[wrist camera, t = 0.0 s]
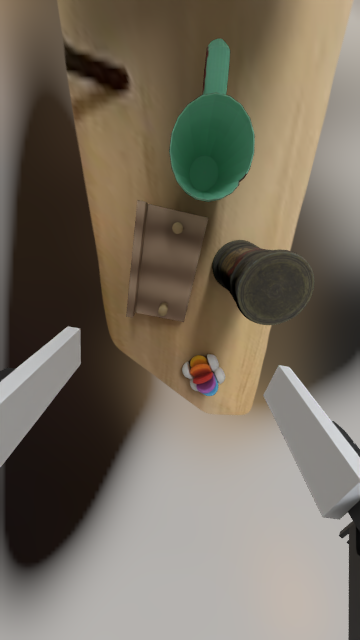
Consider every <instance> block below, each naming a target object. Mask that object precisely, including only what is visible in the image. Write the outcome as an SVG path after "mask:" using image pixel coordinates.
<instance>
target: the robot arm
mask: <svg viewBox="0 0 360 640" xmlns="http://www.w3.org/2000/svg"><path fill="white" fill-rule="evenodd" d="M80 350H81V346H80V329H79V328H73V327H67V328H65V329H64V330H63V331H62V332H60V333H59V334H58V335H57V336H56V337H54V338H53V339H52V340H51V341H50V342H49V343H47V344H46V345H45V346H44V347H42V348H41V349H40V350H39V351H37V352H36V353H35V354H34V355H33V356H31V357H30V358H29V359H28V360H26V361H25V362H24V363H23V364H21V365H20V366H19V367H18V368H17V369H12V368H6V369H4V370H2V371H0V467H1V466H2V464H3V463H4V462H5V461H6V459H7V458H8V457H9V455H10V454H11V453H12V451H13V450H14V449H15V448H16V446H17V445H18V444H19V443H20V441H21V440H22V439H23V437H24V436H25V435H26V434H27V432H28V431H29V430H30V428H31V427H32V426H33V425H34V423H35V422H36V421H37V419H38V418H39V417H40V416H41V414H42V413H43V411H44V410H45V409H46V408H47V406H48V405H49V404H50V403H51V401H52V400H53V399H54V398H55V396H56V395H57V393H58V392H59V391H60V390H61V389H62V387H63V386H64V385H65V383H66V382H67V381H68V380H69V378H70V377H71V376H72V374H73V373H74V372H75V371H76V369H77V368H78V367H79V365H80V364H81V353H80V352H81V351H80ZM264 398H265V400H266V402H267V404H268V406H269V408H270V410H271V412H272V414H273V416H274V418H275V420H276V422H277V424H278V426H279V428H280V430H281V433H282V435H283V436H284V439H285V441H286V443H287V445H288V447H289V449H290V451H291V453H292V455H293V457H294V459H295V461H296V463H297V466H298V467H299V470H300V472H301V474H302V476H303V478H304V480H305V482H306V484H307V486H308V488H309V490H310V492H311V494H312V496H313V498H314V501H315V503H316V505H317V507H318V509H319V511H320V513H321V515H322V517H326V518H333V519H340V518H342V517H343V516H344V515H345V514H346V513H347V512H348V513H349V515H350V516H351V518H352V520H353V522H351V523H350V524H349V525H348V526H347V527H345V528H344V529H343V530H342V531H341V532H340V535H339V536H340V537H341V538H343V537H345V536H346V535H347V534H349V540H348V541H347V543H348V544H349V640H360V449H359V448H358V447H357V445H356V444H354V443H353V441H352V439H351V438H350V437H349V436H348V434H347V433H346V432H345V431H344V430H343V429H342V428H341V427H340V426H339V425H337V424H336V423H335V422H334V421H331V420H330V418H329V417H328V416H327V415H326V413H325V412H324V411H323V409H322V408H321V407H320V406H319V404H318V403H317V402H316V400H315V399H314V398H313V397H312V396H311V394H310V393H309V391H308V390H307V389H306V388H305V386H304V385H303V384H302V383H301V381H300V380H299V379H298V377H297V376H296V375H295V373H294V372H293V371H292V370H291V368H290V367H286V366H280V365H279V366H278V368H277V370H276V372H275V374H274V376H273V378H272V379H271V381H270V384H269V385H268V387H267V389H266V391H265V393H264Z"/></svg>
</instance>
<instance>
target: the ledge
mask: <svg viewBox="0 0 360 640" xmlns="http://www.w3.org/2000/svg"><path fill="white" fill-rule="evenodd" d="M207 222H208V218H207V217H203V216H198V215H194V214H190V213H185V212H181V211H177V210H172V209H168V208H164V207H159V206H155V205H151V204H148V203H147V202H144V201H140V200H138V201H137V211H136V221H135V231H134V242H133V252H132V262H131V273H130V283H129V293H128V304H127V314H126V316H127V317H133V316H134V314H135V313H140V314H145V315H150V316H156V317H161V318H166V319H171V320H176V321H182V322H184V319H185V315H186V311H187V307H188V302H189V298H190V294H191V290H192V285H193V281H194V277H195V273H196V268H197V264H198V260H199V256H200V251H201V247H202V243H203V239H204V234H205V230H206V226H207Z"/></svg>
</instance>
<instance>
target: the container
mask: <svg viewBox="0 0 360 640" xmlns="http://www.w3.org/2000/svg"><path fill="white" fill-rule="evenodd" d="M212 269H213V274H214V277H215V279H216V280H217V282H218V283H219V284H221V285H222V286H223V287H224V288H226V289H227V290H228V291H229V292H230V293H231V295H232V296H233V298H234V300H235V301H236V304H237V306H238V308H239V310H240V312H241V313H242V314H243V315H244V316H245V317H246V318H248V319H249V320H251V321H253V322H255V323H258V324H263V325H275V324H279V323H283V322H285V321H288V320H290V319H292V318H293V317H295V316H296V315H297V314H299V313H300V312H301V311H302V309H304V307H305V306H306V305H307V303H308V302H309V300H310V297H311V296H312V293H313V289H314V275H313V271H312V269H311V267H310V265H309V264H308V262H307V261H306V260H305V259H304V258H303V257H302V256H300V255H299V254H297V253H295V252H292V251H288V250H265V249H260V248H259V247H257V246H256V245H254V244H252V243H250V242H248V241H244V240H236V241H232V242H229V243H227V244H226V245H224V246H223V247H222V248H221V249H220V250H219V251H218V252H217V254H216V255H215V258H214V260H213V266H212Z"/></svg>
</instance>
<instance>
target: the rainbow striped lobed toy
mask: <svg viewBox="0 0 360 640" xmlns="http://www.w3.org/2000/svg"><path fill="white" fill-rule="evenodd" d="M207 359H208V360H207ZM218 366H219V363H218V360H217V357H216V356H215V355H212V354H207V358H205V357H204V356H201V355H197V356H195V357H193V358H192V359H191V361H190V363H189V362H186V363H185V364H184V365H183V367H182V371H183V374H184V376H185V377H186V378H189V379H190V385H191V388H192V389H193V390H195V391H199V392H201V393H203V394H204V395H206V396H212V395H214V394H215V393H216V392H217V390H218V383H219V384H221V383H222V382H223V381H224V380H225V374H224V372H223V370H222V369H221V368H220V367H218Z"/></svg>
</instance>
